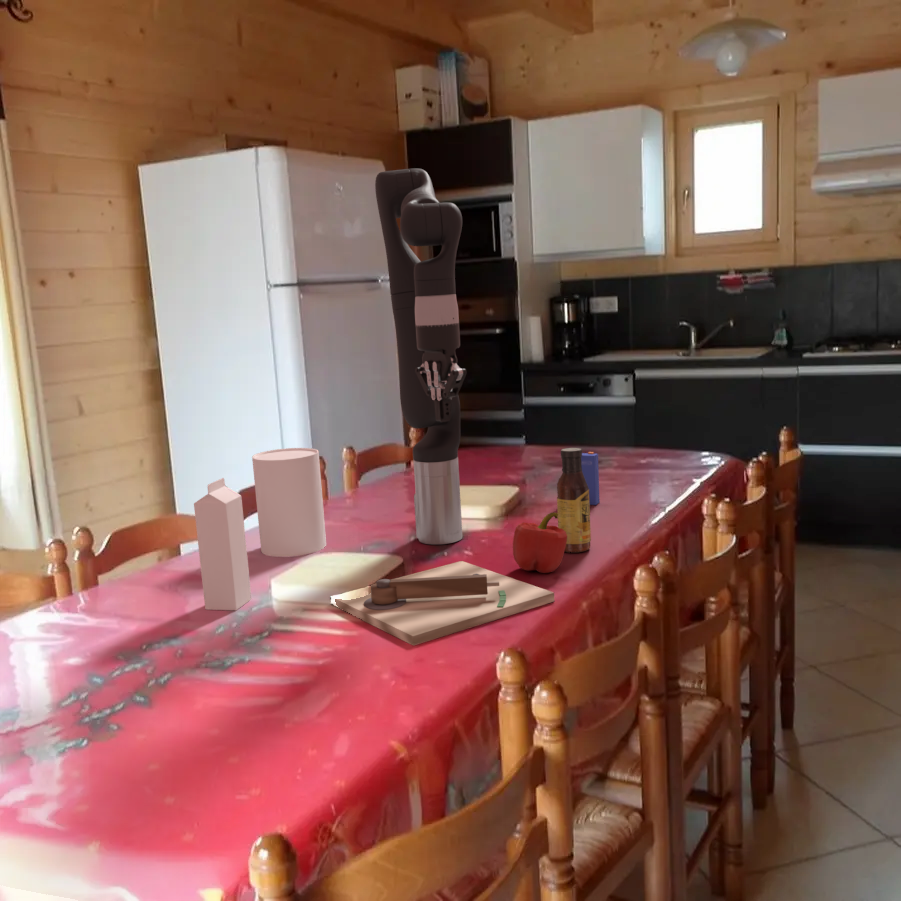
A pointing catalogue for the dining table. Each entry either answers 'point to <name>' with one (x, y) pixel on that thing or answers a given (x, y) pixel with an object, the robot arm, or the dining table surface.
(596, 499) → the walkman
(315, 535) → the canister
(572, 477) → the sauce bottle
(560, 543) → the vegetable
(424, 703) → the dining table surface
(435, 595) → the dial lever
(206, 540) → the milk
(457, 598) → the dial board
